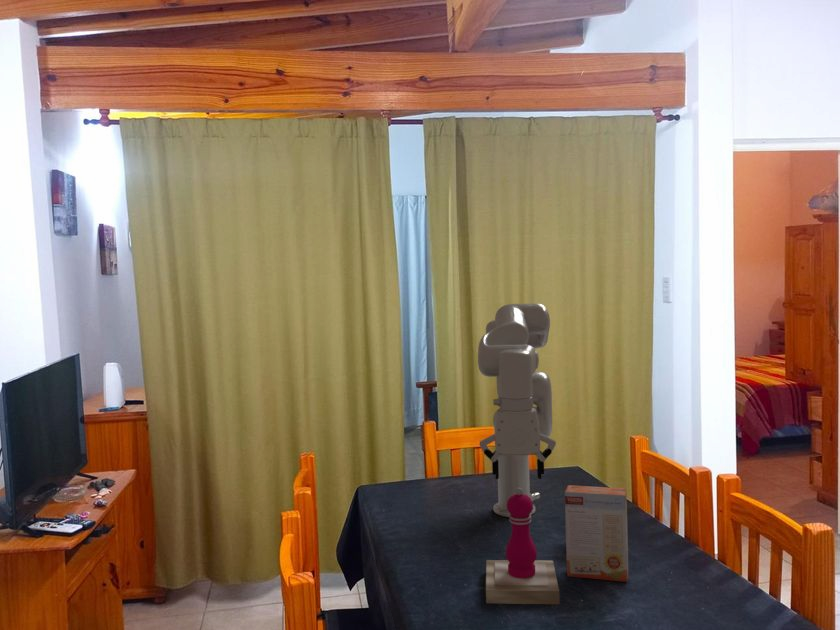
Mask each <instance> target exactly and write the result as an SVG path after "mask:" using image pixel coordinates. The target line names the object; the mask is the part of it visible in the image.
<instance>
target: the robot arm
mask: <svg viewBox="0 0 840 630" xmlns="http://www.w3.org/2000/svg"><path fill="white" fill-rule="evenodd" d="M549 313H550V312H549V311H548V308H546V306H545V305H543V304H541V303H537V302H536V303H509V304H505V305H503V306H501V307H500V308H499V309H498V310H497V311H496V313H495V315H494V316H495V317H494V320H491V321H489V322H488V323H486V325H485V334H483V336H482V337H481V338H480V341H479V342H478V346H477V347H478V348H477V364H478V365H477V366H478V370H479V371H480V373H481V374H482V375H483V376H485V377H489V378H490V377H491V378H492V377H493V378H494V377H496V392H497V398H494V399H493V400H492V401H493V402H492V403H493V406H498V407H499V408H498V409H496V411H494V414H493V415H492V424H493V425H492V426H493V432H494V433H493V434H491V435H489V436H487V437H485V438H483V439H482V440H480V441H479V443H478V444H479V446H480V448H481V450H482V452H483V453H484V455H485V456H486V457H487V458H488V459H489V460H490V461H491V466H492V468H491V471H492V475H495V480H497V496H498V502H496V503H495V504H494V505H493V506H492V507H493V512H494V513H495V514H497V515H499V516H501V517H504V518H505V517H506V518H510V517H509V515H510V513H509V511H508V509H507V501H508V499H509V498H510V497H511V496H512V495H514V494H516V489H517V488H522V489H523V494H525V495H527V496H529V497H530V498H531V500H532V502H534V500H538V499H540V498H541V495H540V493H539V492H538V491H536V492H533V493H531V489H530V483H531V481H530V456H536V467H537V468H536V472H537V473H536V475H537V479H539V480H542V475H545V461H546V460H547V458H548V457H549V456H551V454H552V453H553V450H554V449H555V447H556V444H557V443H556V440H554V439H553V438H551V437H550V436H551V434H552V431H553V399H552V397H553V396H552V393H553V392H552V383H551V379H550V377H549V375H548V374H547V373H546V372H543V371H536V370H537V369H538V368H539V362H540V359H539V353H538V351H537V350H536V349H541V348H544V347H545V346H546V345H547V343H548V340H549V333H550V328H551V318H550V314H549ZM534 405H535V406H534ZM493 442H494V448H495V449H494V451H493V452H492V450H490V449H489V447H488V445H489V444H491V443H493ZM541 442H543V443H545V444H547V447H546V448H545V449H543V451H541ZM535 513H536V505H535V504H533V510H532V512H531V513H530V515H531V516H532V515H533V514H535Z"/></svg>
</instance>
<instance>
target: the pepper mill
mask: <svg viewBox="0 0 840 630" xmlns="http://www.w3.org/2000/svg"><path fill="white" fill-rule="evenodd" d="M533 502H534V501H532V500H531V498H530V497H529V496H527V495H525V494H523V489H522V488H517V489H516V494H514V495H512V496H511V497H510V498H509V499H508V501H507V509H508V511H509V513H510V515H509V517H508V518H509V519H508V520H509V523H511V535H510V537H509V541H508V543H507V545H506V549H505V557H506V560H508V561H509V562H510V563H509V564H508V573H509V574H510V575H511V576H513V577H517V578H528V577H531V576H533V575H534V574H535V564H534V561H535V560H537V557H538V551H537V547H536V546H535V545H536V544H535V542H534V541H533V539H532V536H531V534H530V524H531V522H532V515H530V513H531V512H532V510H533V505H534V504H533Z"/></svg>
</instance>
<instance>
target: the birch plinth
mask: <svg viewBox="0 0 840 630" xmlns="http://www.w3.org/2000/svg"><path fill="white" fill-rule="evenodd" d="M485 563H486V564H485V566H486V569H485V570H486V571H485V572H486V574H485V598H486V599H485V602H486V604H504V605H506V604H509V605H511V604H513V605H516V604H517V605H519V604H520V605H560V589H559V584H558V578H557V574H556V569H555V564H554V560H540V559H539V560H537V559H536V560H535V561H534V564H535V574H534V575H533V576H531V577H528V578H517V577H513V576H511V575H510V574H509V573H508V564H509V563H510V562H509V561H508V560H507V559H506V560H505V559H498V560H497V559H494V560H493V559H486V562H485Z"/></svg>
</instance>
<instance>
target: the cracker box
mask: <svg viewBox="0 0 840 630" xmlns="http://www.w3.org/2000/svg"><path fill="white" fill-rule="evenodd" d="M627 497H628V496H627V488H623V487H609V486H608V487H605V486H589V485H587V486H586V485H573V484H572V485H571V484H570V485H569V484H568V485H567V487H566V489H565V492H564V504H565V505H564V508H565V509H564V510H565V513H564V514H565V516H564V518H565V549H566V555H565V556H566V576H567V577H571V578H581V579H590V580H591V579H593V580H600V581H601V580H602V581H603V580H605V581H611V582H612V581H613V582H620V583H621V582H623V583H626V582H628V578H629V544H628V543H629V542H628V541H629V540H628V539H629V538H628V537H629V535H628V505H627V504H628V503H627V501H628V500H627Z"/></svg>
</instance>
